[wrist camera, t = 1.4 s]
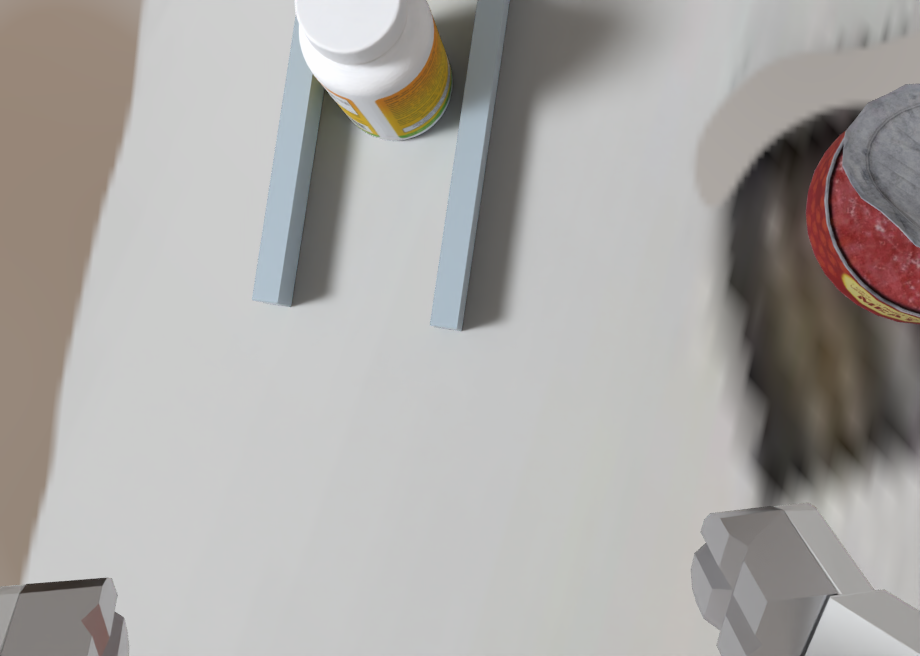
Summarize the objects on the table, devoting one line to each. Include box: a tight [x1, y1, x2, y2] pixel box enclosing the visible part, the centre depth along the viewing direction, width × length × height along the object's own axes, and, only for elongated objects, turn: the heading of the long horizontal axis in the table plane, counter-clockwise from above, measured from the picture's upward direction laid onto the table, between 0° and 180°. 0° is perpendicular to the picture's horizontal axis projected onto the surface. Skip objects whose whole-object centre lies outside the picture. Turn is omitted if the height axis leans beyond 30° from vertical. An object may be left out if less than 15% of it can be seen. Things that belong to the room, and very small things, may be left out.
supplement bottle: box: [295, 0, 453, 141], centre depth 36 cm, size 5×5×10 cm
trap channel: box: [252, 0, 510, 331], centre depth 40 cm, size 24×9×2 cm, turn 172°
